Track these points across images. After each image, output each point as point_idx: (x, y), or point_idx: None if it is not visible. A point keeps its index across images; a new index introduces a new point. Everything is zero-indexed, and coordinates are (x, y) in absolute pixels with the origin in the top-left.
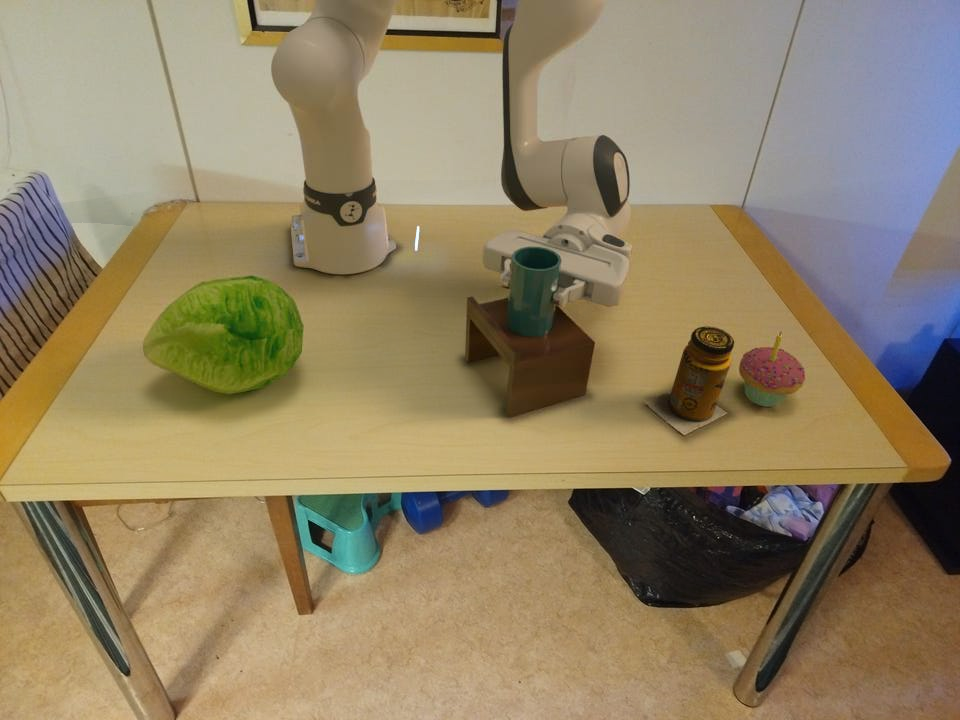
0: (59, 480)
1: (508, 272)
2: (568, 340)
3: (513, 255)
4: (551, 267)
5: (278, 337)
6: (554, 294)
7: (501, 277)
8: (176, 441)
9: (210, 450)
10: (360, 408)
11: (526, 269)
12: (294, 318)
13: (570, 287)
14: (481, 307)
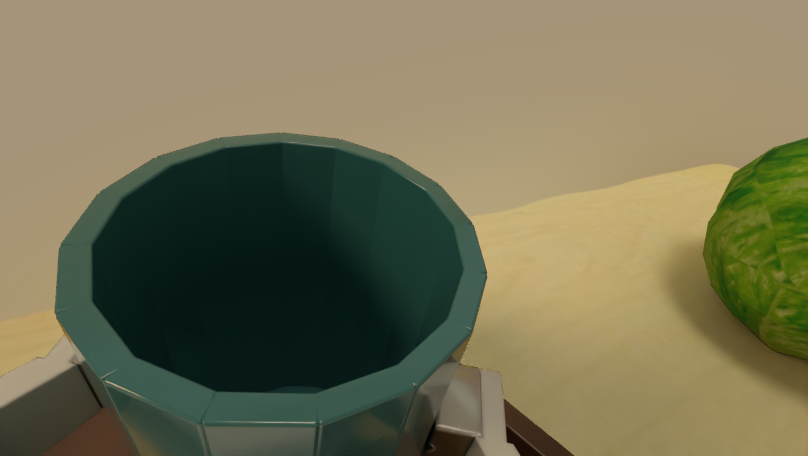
0: (699, 167)
1: (478, 422)
2: (107, 422)
3: (462, 224)
4: (169, 163)
5: (751, 192)
6: None
7: (488, 372)
8: (684, 213)
9: (644, 210)
10: (568, 310)
11: (330, 138)
12: (803, 232)
13: (26, 381)
14: (506, 422)
